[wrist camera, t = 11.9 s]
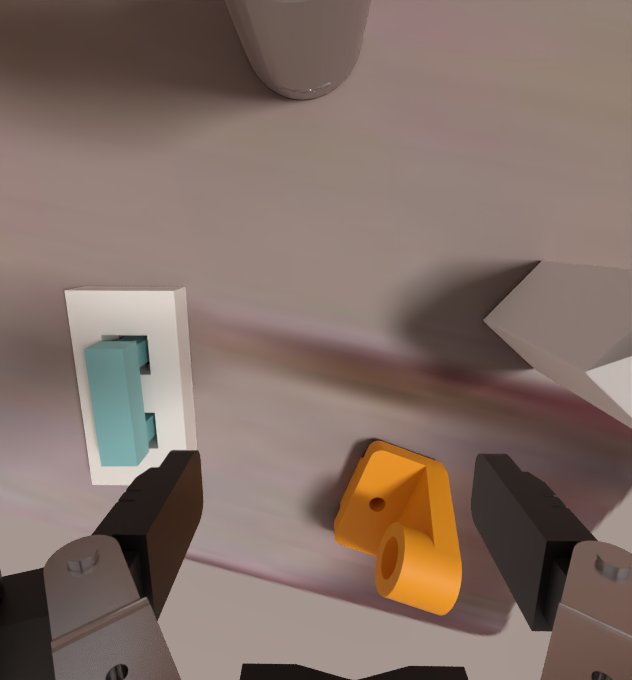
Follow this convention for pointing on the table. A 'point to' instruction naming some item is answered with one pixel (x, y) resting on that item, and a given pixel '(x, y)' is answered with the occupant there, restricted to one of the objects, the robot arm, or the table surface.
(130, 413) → the teal block
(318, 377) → the table surface
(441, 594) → the bracket
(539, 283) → the milk carton
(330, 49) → the robot arm
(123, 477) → the white slotted board
